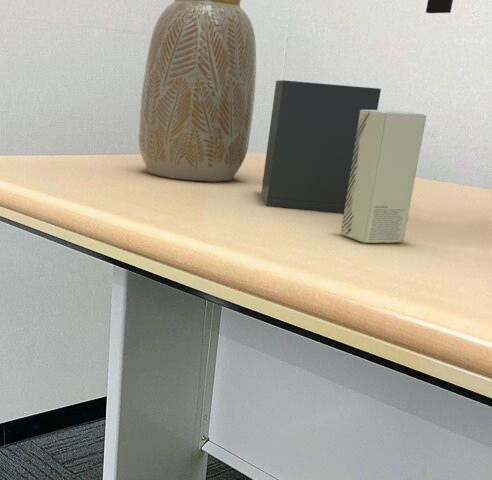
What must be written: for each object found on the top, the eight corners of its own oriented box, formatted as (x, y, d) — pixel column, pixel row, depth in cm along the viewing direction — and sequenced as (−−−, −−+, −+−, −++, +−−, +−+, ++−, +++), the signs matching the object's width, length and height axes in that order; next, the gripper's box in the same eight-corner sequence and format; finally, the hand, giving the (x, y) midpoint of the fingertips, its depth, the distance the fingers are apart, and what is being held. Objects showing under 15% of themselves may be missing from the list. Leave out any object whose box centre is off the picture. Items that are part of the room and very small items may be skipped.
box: (378, 235, 81) (401, 111, 77) (404, 244, 77) (430, 114, 73) (336, 234, 80) (358, 107, 75) (361, 244, 76) (385, 110, 71)
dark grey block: (358, 214, 94) (381, 88, 89) (266, 205, 95) (283, 80, 90) (344, 200, 105) (363, 88, 100) (261, 193, 106) (276, 80, 101)
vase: (262, 179, 121) (287, -4, 112) (211, 187, 107) (235, -21, 98) (171, 165, 129) (187, -6, 120) (114, 171, 116) (126, -22, 107)
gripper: (479, -188, 84) (439, 18, 91) (327, -259, 70) (294, -9, 77) (544, -204, 78) (496, 17, 85) (393, -285, 64) (351, -12, 71)
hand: (400, 5), depth 81 cm, fingers open, 13 cm apart
